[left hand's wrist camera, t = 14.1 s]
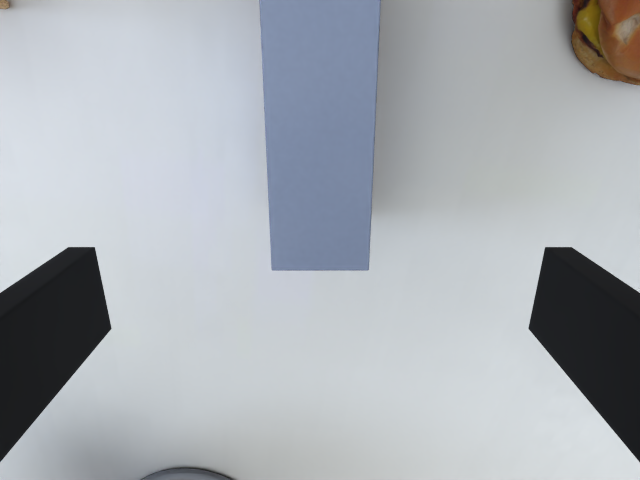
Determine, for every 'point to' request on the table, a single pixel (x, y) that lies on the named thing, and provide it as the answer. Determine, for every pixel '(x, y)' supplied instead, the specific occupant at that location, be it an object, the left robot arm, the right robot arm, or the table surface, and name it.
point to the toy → (4, 4)
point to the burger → (608, 38)
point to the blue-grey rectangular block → (320, 130)
